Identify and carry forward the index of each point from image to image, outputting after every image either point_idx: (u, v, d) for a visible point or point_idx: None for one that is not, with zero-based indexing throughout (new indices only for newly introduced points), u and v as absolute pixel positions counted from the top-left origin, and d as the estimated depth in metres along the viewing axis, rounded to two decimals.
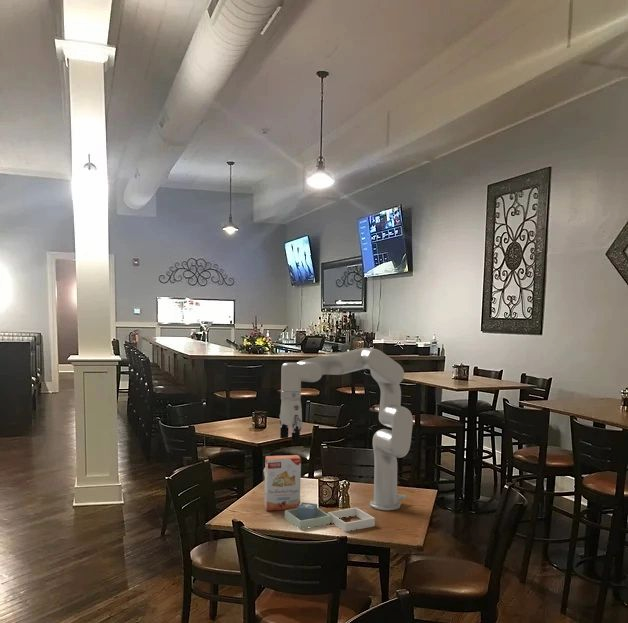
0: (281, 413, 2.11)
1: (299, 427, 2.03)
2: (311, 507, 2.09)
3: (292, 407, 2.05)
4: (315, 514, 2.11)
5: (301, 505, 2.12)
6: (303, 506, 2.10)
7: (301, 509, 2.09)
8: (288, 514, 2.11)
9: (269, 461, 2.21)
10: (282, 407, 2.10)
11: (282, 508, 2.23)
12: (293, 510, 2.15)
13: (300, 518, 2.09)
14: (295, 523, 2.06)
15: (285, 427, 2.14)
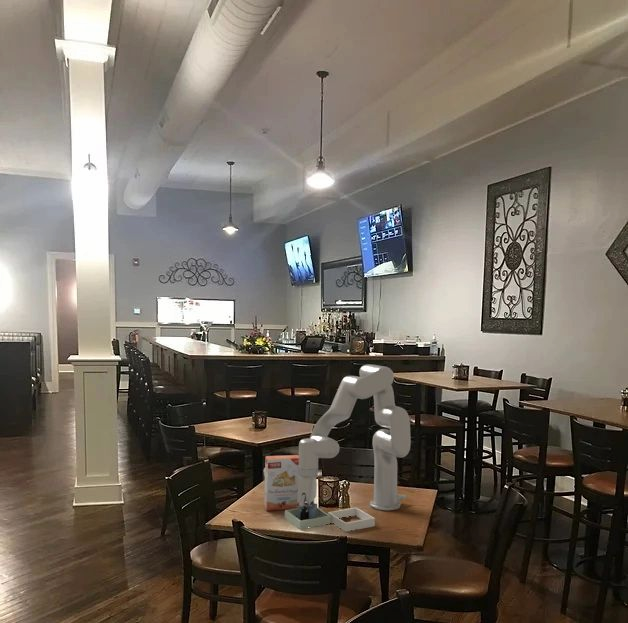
0: (311, 493, 2.08)
1: None
2: (311, 507, 2.09)
3: None
4: (315, 514, 2.11)
5: None
6: None
7: None
8: (288, 514, 2.11)
9: (269, 461, 2.21)
10: (312, 486, 2.09)
11: (282, 508, 2.23)
12: (293, 510, 2.15)
13: None
14: (295, 523, 2.06)
15: None
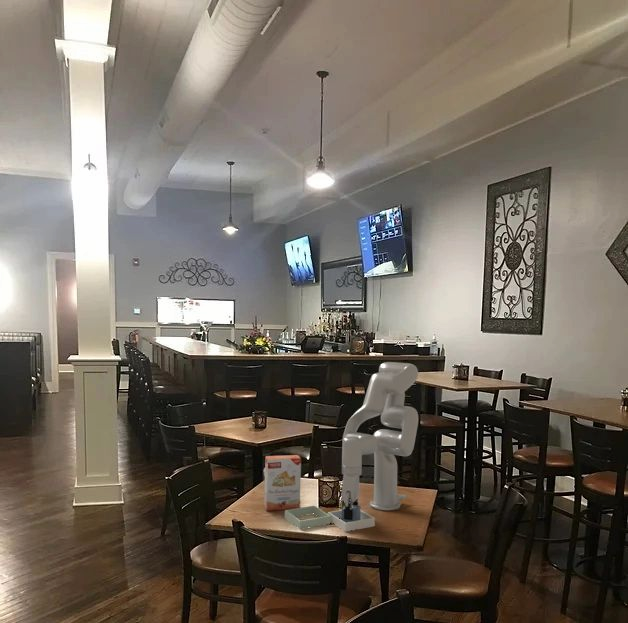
0: (355, 491, 2.07)
1: None
2: (355, 509, 2.08)
3: None
4: (359, 516, 2.10)
5: None
6: None
7: None
8: (288, 514, 2.11)
9: (269, 461, 2.21)
10: (356, 484, 2.08)
11: (282, 508, 2.23)
12: (293, 510, 2.15)
13: (344, 520, 2.08)
14: (295, 523, 2.06)
15: None
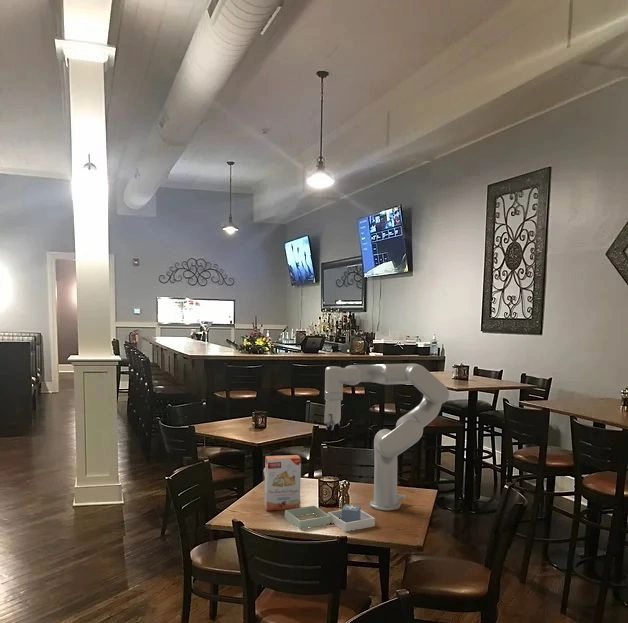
0: (336, 415, 2.27)
1: None
2: (355, 509, 2.08)
3: None
4: (359, 516, 2.10)
5: (344, 507, 2.10)
6: (347, 508, 2.09)
7: (345, 511, 2.08)
8: (288, 514, 2.11)
9: (269, 461, 2.21)
10: (337, 408, 2.28)
11: (282, 508, 2.23)
12: (293, 510, 2.15)
13: (344, 520, 2.08)
14: (295, 523, 2.06)
15: None
